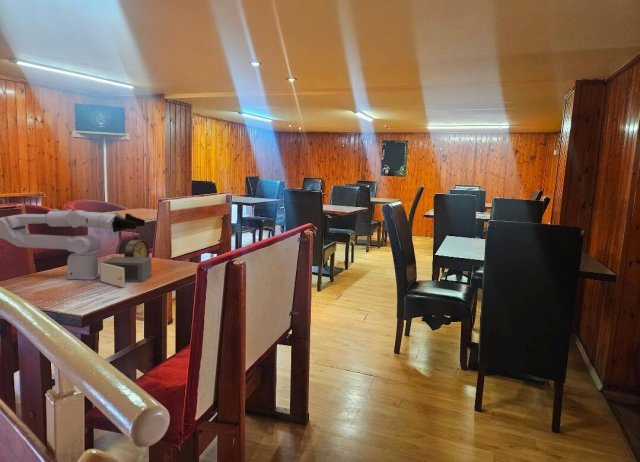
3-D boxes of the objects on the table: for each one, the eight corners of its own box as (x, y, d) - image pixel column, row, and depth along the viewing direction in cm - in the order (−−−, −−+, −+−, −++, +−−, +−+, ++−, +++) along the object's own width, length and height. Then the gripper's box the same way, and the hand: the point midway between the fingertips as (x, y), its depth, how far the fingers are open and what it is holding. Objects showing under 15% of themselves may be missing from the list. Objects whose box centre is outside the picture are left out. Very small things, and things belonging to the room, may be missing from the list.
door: (96, 281, 151) (96, 263, 150) (101, 280, 152) (101, 262, 151) (119, 287, 144) (119, 268, 143) (125, 286, 145) (124, 268, 144)
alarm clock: (134, 272, 168) (133, 231, 165) (121, 270, 169) (121, 230, 166) (150, 266, 178) (149, 228, 176) (138, 265, 179) (138, 227, 177)
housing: (102, 281, 152) (101, 262, 151) (113, 274, 162) (113, 256, 161) (142, 282, 153) (141, 263, 152) (151, 275, 163) (151, 257, 162)
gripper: (92, 211, 146) (132, 215, 147) (112, 208, 161) (148, 211, 161) (92, 231, 147) (131, 235, 148) (111, 226, 162) (147, 229, 162)
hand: (140, 224), depth 155 cm, fingers open, 7 cm apart
